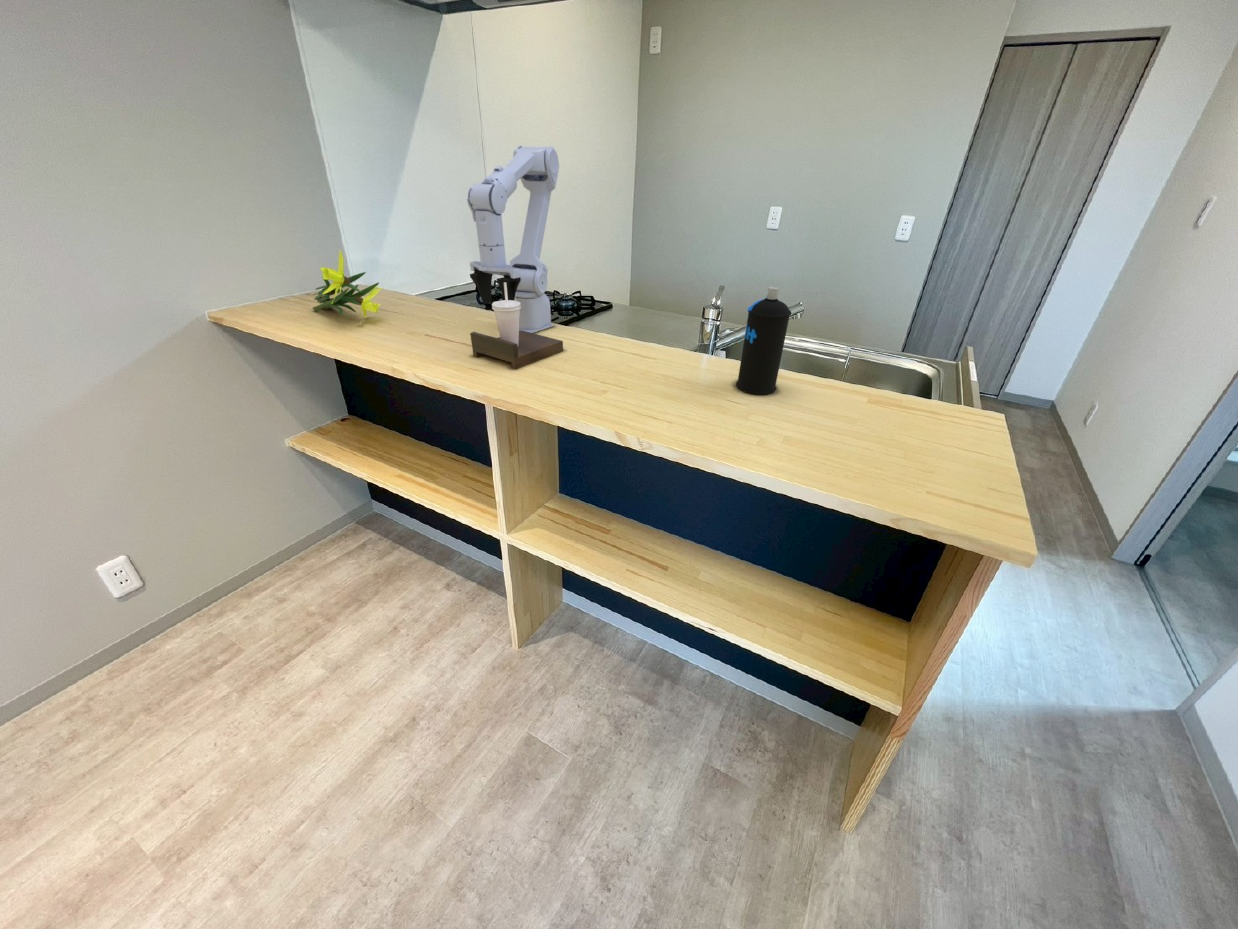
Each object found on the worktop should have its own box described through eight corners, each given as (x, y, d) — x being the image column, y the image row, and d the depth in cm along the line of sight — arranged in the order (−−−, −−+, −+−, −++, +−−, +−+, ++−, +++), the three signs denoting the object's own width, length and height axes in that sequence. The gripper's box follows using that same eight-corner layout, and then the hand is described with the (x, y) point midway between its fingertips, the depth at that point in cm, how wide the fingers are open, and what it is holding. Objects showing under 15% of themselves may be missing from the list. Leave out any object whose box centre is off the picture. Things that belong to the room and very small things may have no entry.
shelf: (522, 339, 126) (520, 318, 124) (563, 350, 120) (562, 328, 117) (473, 356, 115) (470, 332, 112) (515, 369, 109) (513, 345, 106)
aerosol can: (777, 383, 105) (797, 285, 94) (774, 397, 98) (795, 294, 87) (738, 377, 107) (753, 281, 96) (733, 391, 100) (748, 290, 90)
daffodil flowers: (362, 305, 156) (407, 292, 132) (330, 338, 151) (372, 331, 127) (314, 260, 146) (354, 237, 121) (278, 294, 141) (313, 277, 116)
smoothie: (527, 342, 117) (522, 280, 110) (520, 350, 111) (514, 286, 104) (501, 340, 117) (494, 279, 110) (492, 349, 112) (485, 285, 105)
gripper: (456, 243, 112) (465, 304, 119) (500, 249, 105) (506, 314, 112) (480, 240, 117) (487, 298, 124) (524, 246, 110) (528, 308, 117)
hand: (498, 305), depth 118 cm, fingers open, 7 cm apart
